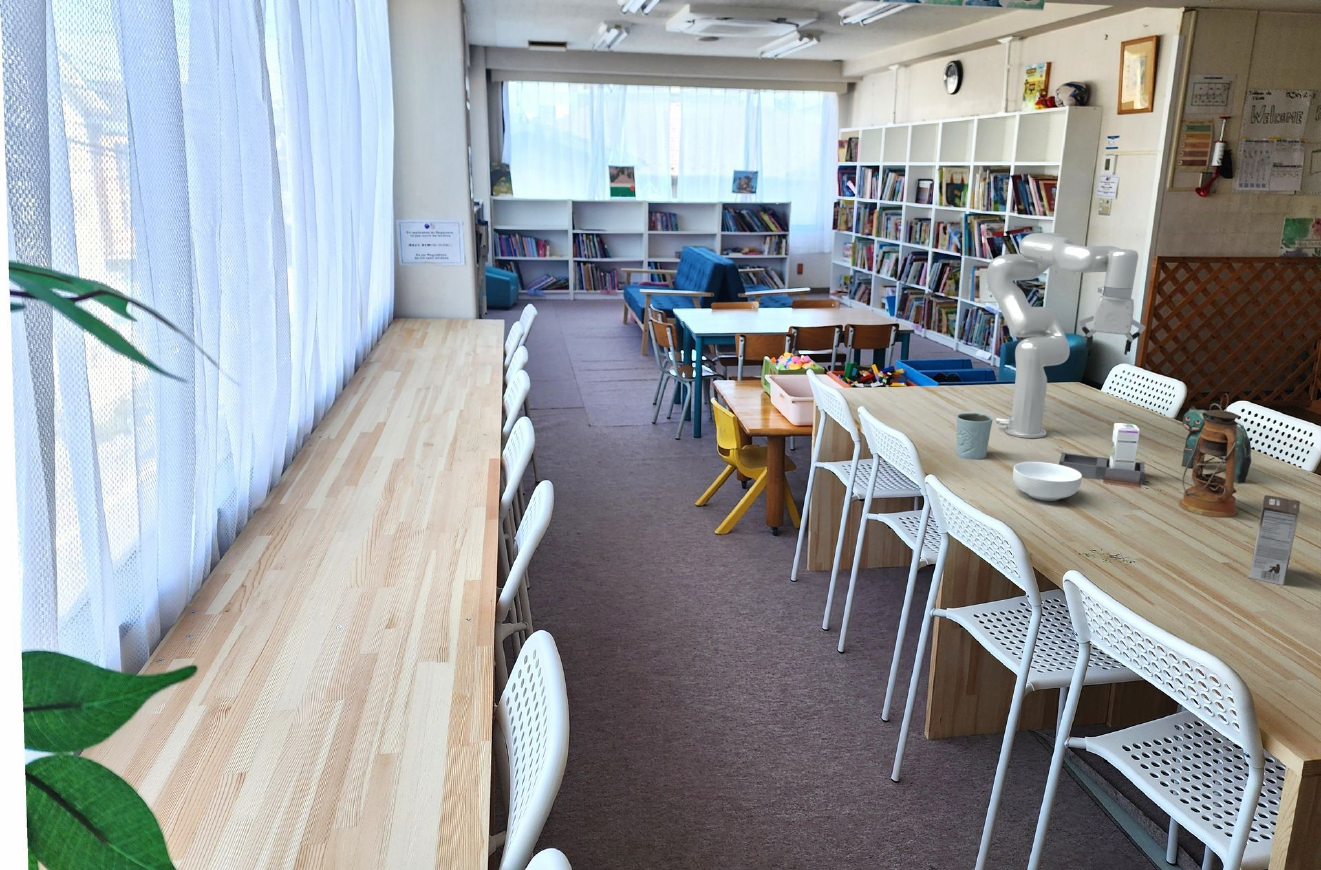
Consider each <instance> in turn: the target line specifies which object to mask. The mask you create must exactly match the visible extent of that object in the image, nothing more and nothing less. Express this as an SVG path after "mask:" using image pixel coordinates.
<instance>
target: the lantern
mask: <svg viewBox="0 0 1321 870" xmlns="http://www.w3.org/2000/svg"><path fill="white" fill-rule="evenodd" d="M1225 395H1226V397H1227V400H1226V401H1227V402H1226V406H1225V410H1223V409H1222V404H1223V399H1224V396H1225ZM1228 395H1229V394H1227V393H1223V395H1222V397H1221V400H1220V404H1219V406H1220V408H1219V409H1210V410H1206V412H1205V413H1206V414H1207V415H1208V419H1206V420H1205V425H1204V427H1203V429H1202V431H1201V433H1200V435H1199V437H1198V439H1197V442H1196V446H1195V449H1194V451H1193V454H1192V456H1191V458H1190V460H1189V462H1188V464H1187V466H1186V467H1185V469H1184V471H1183V475H1182V488H1183V491H1184V492H1183V498H1182V499H1180V501H1179V503H1178V506H1179V507H1180V508H1181V509H1183V510H1185V511H1186V512H1190V513H1193V514H1196V515H1200V516H1206V517H1213V518H1215V517H1216V518H1231V517H1235V516H1236V515H1238V511H1237V508H1236V507H1235V505H1236V497H1235V496H1234V495H1233V494H1236V493H1237V491H1238V490H1237V489H1236V488H1234V486H1235V482H1234V475H1235V466H1236V464H1235V458H1236V441H1238V439H1237V438H1236V434H1237V429H1236V428H1237V425H1238V424H1237V422H1238V421H1236V419H1239V418H1240V415H1238V414H1237V413H1235V412H1231V411H1227V409H1228V405H1229V396H1228ZM1235 421H1236V422H1235ZM1197 446H1198V451H1197V455H1196V456H1195V458H1194V459H1193V464H1194V465H1193V466H1194V467H1193V468H1191V469H1192V474H1191V476H1192V481H1193V484H1194V486H1191V487H1188V488H1185V476H1186V473H1187V470H1188V469H1189V468H1188V466H1189V464H1190V462H1191V460H1192V458H1193V457H1194V454H1195V451H1196V449H1197ZM1206 455H1208V456H1212V457H1211V458H1209V459H1208V460H1205V457H1206ZM1216 458H1218V459H1219V460H1221V461H1219V460H1218V461H1215V459H1216ZM1212 460H1214V461H1212ZM1194 461H1195V462H1194ZM1216 464H1218V465H1217V467H1216V468H1215V470H1214V472H1210V473H1204V469H1205V470H1206V469H1207V465H1216ZM1222 464H1225V469H1224V470H1220V471H1218V469H1219V467H1220V466H1221V465H1222ZM1224 472H1225V478H1224V477H1222V476H1218V474H1221V473H1224Z"/></svg>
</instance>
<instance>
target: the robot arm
mask: <svg viewBox="0 0 1321 870" xmlns="http://www.w3.org/2000/svg"><path fill="white" fill-rule="evenodd" d="M1018 249H1019V252H1020V253H1011V254H1010V253H1008V254H1003V255H998V256H997V257H995V258H993V259H992V260H991V261H990V263H989V265H988V267H987V271H986V282H987V286H988V288H989V290H990V292H991V295H993V297H994V299H995V300H996V303H997V304H998V307H999V309H1000V312H1001V314H1002V317H1003V319H1004V321H1005V323H1006V327H1007V328H1008V330H1009V332H1010V333H1011V334H1012V336H1013V337H1016V338H1024V339H1022V340H1021V341H1020V342H1018V343H1017V345H1016V347H1015V352H1014V357H1015V358H1014V359H1015V381H1014V391H1013V399H1012V408H1011V416H1010V417H1007V418H1003V417H1002V418H1001V417H997V418H996V424H998V425H999V426H1005V428H1004V432H1005V433H1006V434H1008V435H1010V436H1013V437H1017V438H1018V437H1019V438H1025V439H1041V438H1044V437H1046V436H1047V431H1046V430H1045V428H1043V419H1044V410H1045V403H1046V393H1047V388H1048V387H1047V385H1048V377H1047V375H1046V372H1045V369H1044V367H1050V366H1051V367H1052V366H1058V365H1059V366H1060V365H1061V364H1063V363H1065V362H1066V361H1067V360H1068V359H1069V356H1070V353H1071V352H1070V344H1069V340H1068V339H1067V337H1066V334H1065V332H1064V330H1063V328H1062V325H1061V324H1060V321H1059V319H1058V317H1057V315H1056V314H1055V312H1054V311H1053V310H1052V309H1051V308H1048V307H1046V306H1031V304H1030V302H1029V301H1028V300H1027V298H1026V297H1027V296H1026V295H1025V293H1024V291H1023V290H1022V289H1021V288H1020V286H1018V285H1016V283H1014V281H1029V280H1034V279H1037V278H1039V277H1040V276H1042V274H1044V273H1045V272H1046V271H1047V270H1048V269H1050V268H1051V267H1052V266H1056V267H1058V268H1059V269H1061V270H1065V271H1070V272H1074V273H1082V274H1087V273H1105V276H1104V284H1103V286H1102V287H1098V288H1097V293H1099V294H1101V296H1099V297H1098V300H1097V302H1096V305H1095V310H1094V314H1093V315H1091V316H1088V317H1086V318H1082V319H1080V320H1079V322H1078V323H1079V325H1080V328H1081V330H1082V332H1083V333H1084V335H1085V336H1086V337H1087V338H1086V344H1085V347H1086V348H1087V352H1088V351H1092V346H1093V340H1094V336H1093V335H1094V334H1096V333H1102V334H1112V335H1123V336H1125V337H1126V338H1127V339H1126V341H1125V347H1124V353H1123V354H1124V355H1125V356H1127V355H1128V352H1129V353H1130V352H1131V348H1132V343H1133V341H1134V340H1136V339H1137V338H1139V337H1140V336H1141V334H1142V333H1143V332H1144V331H1145V329H1146V326H1145V325H1144V324H1142V323H1140V322H1139V321H1137V320H1136V319H1134V309H1135V305H1134V301H1135V300H1134V299H1133V298H1132V296H1133V289H1134V284H1135V278H1136V272H1137V266H1138V261H1139V253H1138V251H1136V250H1133V249H1128V248H1126V249H1125V248H1120V247H1117V246H1114V245H1088V246H1086V245H1077V244H1074V243H1073V241H1072V240H1071V239H1070V238H1068V237H1064V236H1063V235H1062V234H1060V233H1057V232H1034V233H1029V234H1027V235H1025V236H1024V237H1023V238H1022V239H1021V240H1020V243H1019V247H1018ZM1090 322H1092V325H1091V329H1089V328H1088V327H1087V323H1090ZM1132 326H1134V327H1136V328H1137V329H1138V330H1137V331H1136V332H1134V333H1133V334H1132V331H1131V330H1132Z"/></svg>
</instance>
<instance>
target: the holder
mask: <svg viewBox="0 0 1321 870" xmlns="http://www.w3.org/2000/svg"><path fill="white" fill-rule="evenodd" d="M1109 461H1110V457H1100V456H1093V455H1085V454H1077V453H1068V452H1061V455H1060V459H1059V463H1058V465H1062V466H1066V467H1069V468H1072V469H1075V470H1077V471H1078V472H1080V473H1081V475H1082V478H1083V479H1084V478H1087V479H1094V480H1099V479H1102V480H1101V481H1103V482H1102V484H1104V483H1107V484H1106V485H1111V484H1112V486H1113V485H1114V486H1121V487H1128V488H1135V489H1140V488H1141V486H1144V478H1145V472H1146V471H1145V462H1140V461H1136V463H1135V471H1133V470H1125V469H1117V468H1109Z"/></svg>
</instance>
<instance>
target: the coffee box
mask: <svg viewBox="0 0 1321 870" xmlns="http://www.w3.org/2000/svg"><path fill="white" fill-rule="evenodd" d="M1300 505H1301V504H1300V500H1295V499H1290V498H1285V497H1281V496H1275V495H1274V496H1273V495H1269V494H1265V495H1264V499H1263V503H1262V507H1261V512H1260V517H1259V522H1258V525H1257V527H1258V528H1257V532H1256V537H1255V543H1254V548H1253V553H1252V554H1253V555H1252V559H1251V561H1252V562H1251V568H1250V574H1249V578H1250V579H1252V580H1258V581H1260V582H1261V581H1262V582H1267V583H1271V584H1276V585H1281V586H1284V585H1285V582H1286V577H1287V573H1288V568H1289V564H1290V559H1291V553H1292V549H1293V543H1294V540H1295V535H1296V530H1297V525H1298V521H1299V515H1300Z"/></svg>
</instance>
